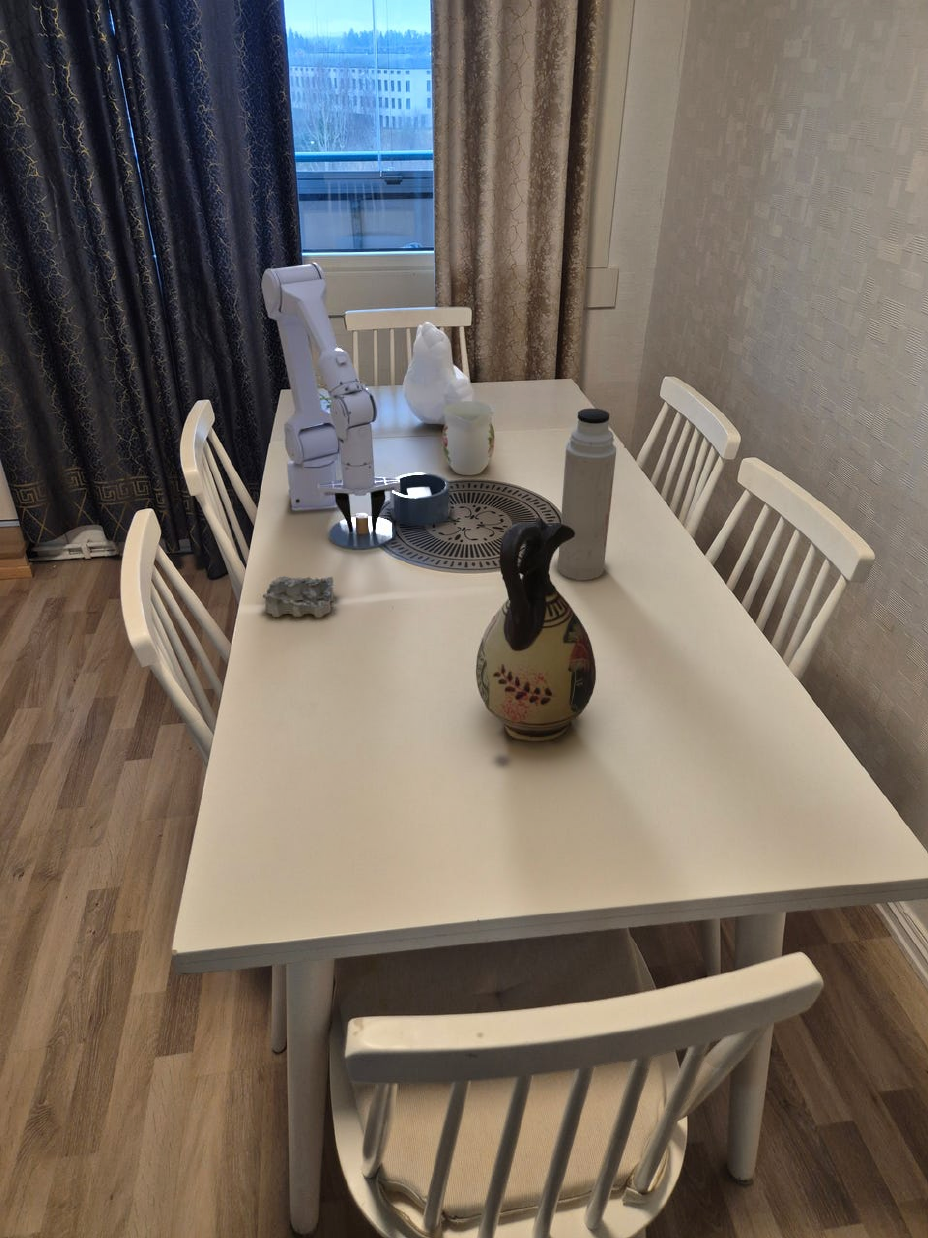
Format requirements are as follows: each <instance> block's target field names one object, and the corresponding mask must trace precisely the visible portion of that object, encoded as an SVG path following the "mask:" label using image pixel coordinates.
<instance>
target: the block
mask: <svg viewBox="0 0 928 1238" xmlns="http://www.w3.org/2000/svg"><path fill="white" fill-rule="evenodd" d="M406 489H407V496H412V497H423V496H430V495H432V494H431V491H430V488H429V486H428V487H414V488H406Z"/></svg>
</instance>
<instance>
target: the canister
mask: <svg viewBox="0 0 928 1238" xmlns="http://www.w3.org/2000/svg"><path fill="white" fill-rule="evenodd" d="M396 478H399V480H400V491H401V492H394V491H388V495H389V496H388V497H389V511H390V517H391V518H392V520H394V521H395V522H396V523H399V524H401V525H406V526H409V527H427V526H428V527H429V526H432V525H436V524H440V523H442V522H443V521H445V520H446V519H447V518H449V516H450V513H451V488H450V482H449V481H448V479H446V478H445V477H443V476H441V475H438V474H434V473H430V472H411V473H406V474H401V475H400V476H397V477H396ZM428 486H429V488H430V491H431V494H432V495H430V496H423V497H412V496H407V489H406V488H414V487H428Z"/></svg>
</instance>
